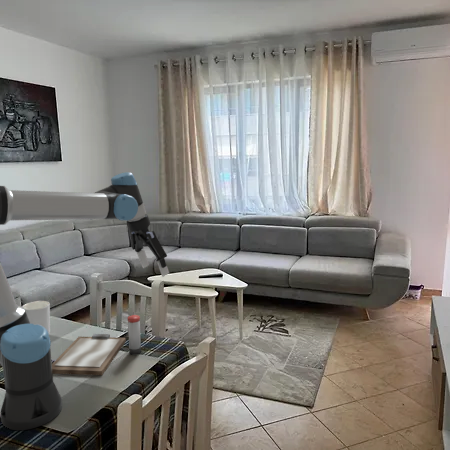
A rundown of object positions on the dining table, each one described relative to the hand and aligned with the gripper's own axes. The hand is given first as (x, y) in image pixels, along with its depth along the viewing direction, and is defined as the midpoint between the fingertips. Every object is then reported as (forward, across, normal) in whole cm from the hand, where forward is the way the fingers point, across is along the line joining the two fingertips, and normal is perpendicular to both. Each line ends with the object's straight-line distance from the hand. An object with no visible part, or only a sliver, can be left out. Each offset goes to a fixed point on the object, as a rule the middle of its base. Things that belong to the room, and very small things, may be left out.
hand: (155, 270), depth 151 cm
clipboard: (+19, +6, +31) cm, 37 cm away
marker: (+23, -2, +18) cm, 29 cm away
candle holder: (+17, +36, +39) cm, 56 cm away
